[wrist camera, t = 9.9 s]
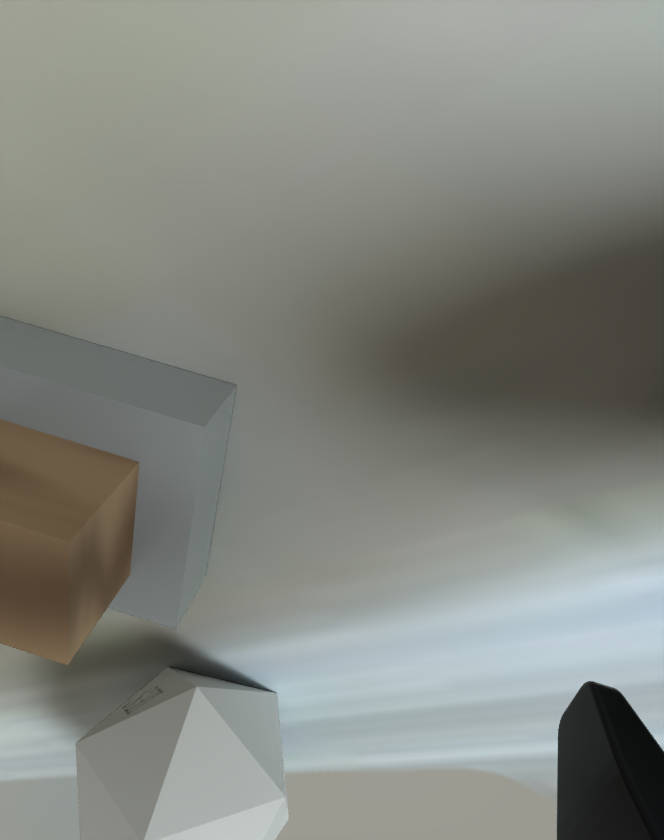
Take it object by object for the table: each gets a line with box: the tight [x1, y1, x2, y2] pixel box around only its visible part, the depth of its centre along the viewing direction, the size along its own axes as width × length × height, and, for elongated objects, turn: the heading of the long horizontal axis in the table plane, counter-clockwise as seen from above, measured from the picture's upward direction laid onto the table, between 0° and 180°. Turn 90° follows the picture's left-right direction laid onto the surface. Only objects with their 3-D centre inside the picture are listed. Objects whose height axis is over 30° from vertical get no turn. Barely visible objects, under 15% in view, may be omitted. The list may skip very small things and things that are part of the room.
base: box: [0, 316, 237, 629], centre depth 22 cm, size 9×9×3 cm
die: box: [76, 667, 289, 840], centre depth 26 cm, size 8×9×10 cm
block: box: [0, 419, 139, 665], centre depth 19 cm, size 5×5×4 cm
